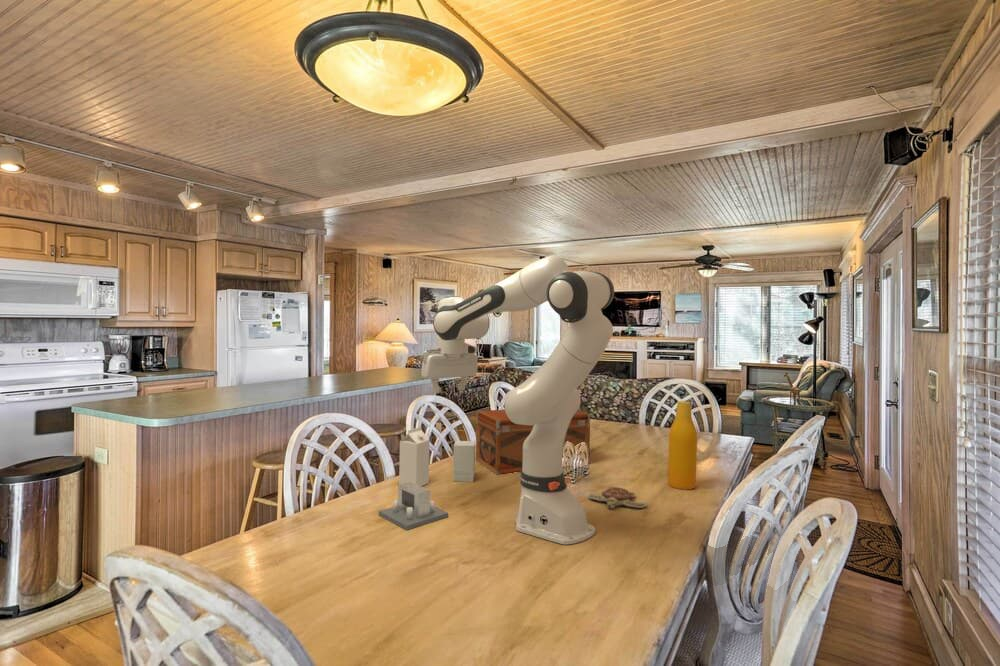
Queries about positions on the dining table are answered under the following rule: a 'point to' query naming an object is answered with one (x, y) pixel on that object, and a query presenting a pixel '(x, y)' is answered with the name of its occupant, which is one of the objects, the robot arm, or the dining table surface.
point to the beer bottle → (682, 449)
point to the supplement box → (464, 461)
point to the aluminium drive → (414, 499)
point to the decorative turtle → (617, 498)
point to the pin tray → (414, 521)
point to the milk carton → (414, 458)
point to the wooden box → (515, 439)
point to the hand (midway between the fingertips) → (449, 391)
